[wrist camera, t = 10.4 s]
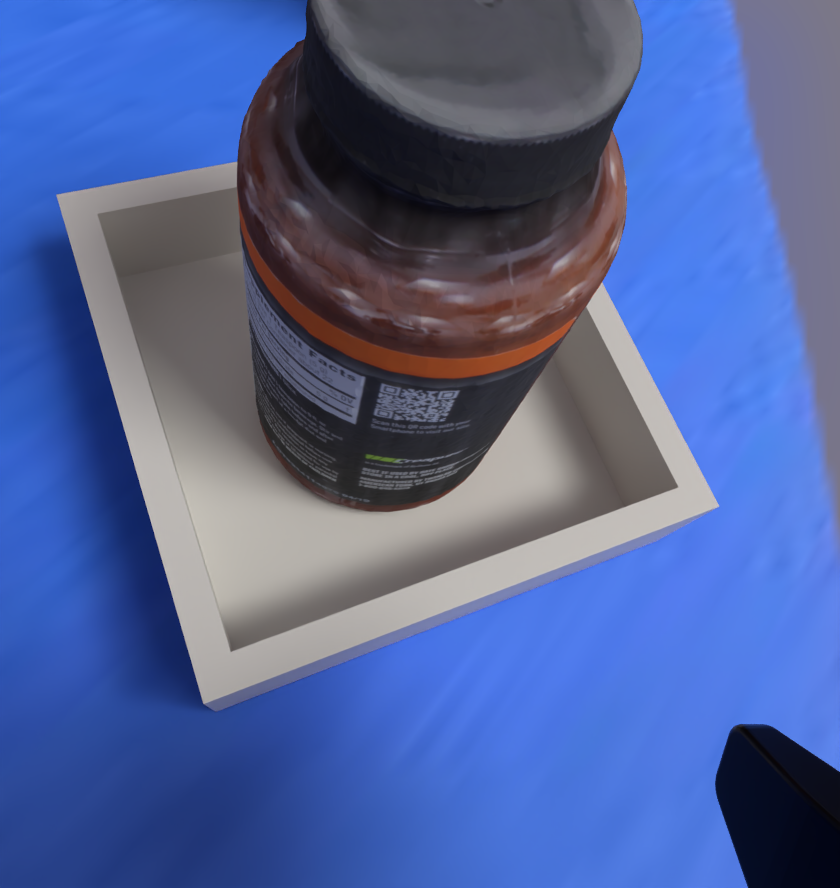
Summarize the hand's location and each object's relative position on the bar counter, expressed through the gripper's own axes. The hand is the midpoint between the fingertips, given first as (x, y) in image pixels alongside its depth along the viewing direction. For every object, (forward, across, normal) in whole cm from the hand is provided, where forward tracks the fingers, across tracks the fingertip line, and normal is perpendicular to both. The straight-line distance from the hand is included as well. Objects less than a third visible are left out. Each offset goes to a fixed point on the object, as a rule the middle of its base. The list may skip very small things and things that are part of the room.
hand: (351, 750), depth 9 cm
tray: (+12, -1, 0) cm, 12 cm away
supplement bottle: (+12, -1, 0) cm, 12 cm away
